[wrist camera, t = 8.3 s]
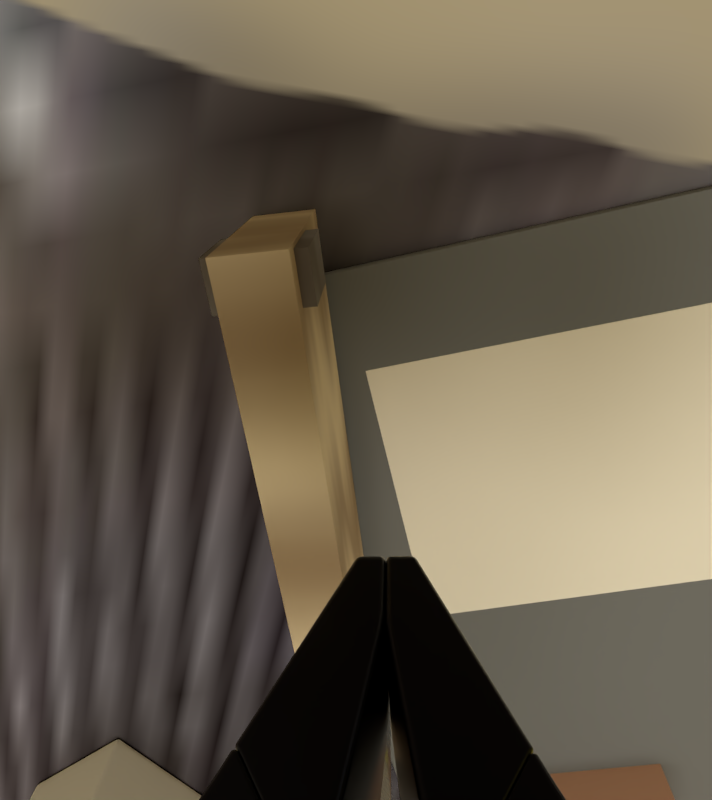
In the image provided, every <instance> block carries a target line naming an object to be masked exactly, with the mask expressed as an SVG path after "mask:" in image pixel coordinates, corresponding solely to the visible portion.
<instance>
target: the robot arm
mask: <svg viewBox="0 0 712 800" xmlns="http://www.w3.org/2000/svg"><path fill="white" fill-rule="evenodd" d="M389 704H390V721H391V731H392V740H393V747H394V755H395V763H396V771H397V778H398V786H399V794H400V800H566V799H565V797H564V796H563V794H562V793H561V791H560V790H559V788H558V787H557V785H556V784H555V782H554V780H553V779H552V777H551V775H550V774H549V772H548V771H547V769H546V767H545V766H544V764H543V762H542V761H541V759H540V758H539V756H538V755H537V754H536V753H533V747H532V745H531V744H530V742H529V740H528V739H527V737H526V736H525V734H524V732H523V731H522V729H521V727H520V726H519V724H518V723H517V721H516V719H515V718H514V716H513V714H512V713H511V711H510V710H509V708H508V706H507V705H506V703H505V701H504V700H503V698H502V697H501V695H500V693H499V692H498V690H497V689H496V687H495V685H494V684H493V682H492V680H491V679H490V677H489V676H488V674H487V672H486V671H485V669H484V667H483V666H482V664H481V663H480V661H479V659H478V658H477V656H476V654H475V653H474V651H473V650H472V648H471V646H470V645H469V643H468V642H467V640H466V638H465V637H464V635H463V633H462V632H461V630H460V629H459V627H458V625H457V624H456V622H455V620H454V619H453V617H452V616H451V614H450V612H449V611H448V609H447V608H446V606H445V604H444V603H443V601H442V599H441V598H440V596H439V595H438V593H437V591H436V590H435V588H434V586H433V585H432V583H431V582H430V580H429V578H428V577H427V575H426V573H425V572H424V570H423V569H422V567H421V565H420V564H419V562H418V561H417V559H416V558H415V557H413V556H390V557H388V558H387V560H385V558H384V557H382V556H362V557H358V558H357V559H356V560H355V561H354V562H353V564H352V566H351V567H350V569H349V570H348V572H347V573H346V575H345V576H344V578H343V579H342V581H341V583H340V584H339V586H338V587H337V589H336V590H335V592H334V593H333V595H332V596H331V598H330V600H329V601H328V603H327V604H326V606H325V607H324V609H323V610H322V612H321V614H320V615H319V617H318V618H317V620H316V621H315V623H314V624H313V626H312V627H311V629H310V631H309V632H308V634H307V635H306V637H305V638H304V640H303V641H302V643H301V644H300V646H299V648H298V649H297V651H296V652H295V654H294V655H293V657H292V658H291V660H290V661H289V663H288V665H287V666H286V668H285V669H284V671H283V672H282V674H281V675H280V677H279V678H278V680H277V682H276V683H275V685H274V686H273V688H272V689H271V691H270V692H269V694H268V695H267V697H266V699H265V700H264V702H263V703H262V705H261V706H260V708H259V709H258V711H257V712H256V714H255V716H254V717H253V719H252V720H251V722H250V723H249V725H248V726H247V728H246V729H245V731H244V733H243V734H242V736H241V737H240V739H239V740H238V742H237V743H236V750H232V751H231V752H230V754H229V755H228V757H227V758H226V760H225V761H224V763H223V765H222V766H221V768H220V769H219V771H218V772H217V774H216V775H215V777H214V779H213V780H212V781H211V783H210V784H209V786H208V787H207V789H206V790H205V792H204V793H203V795H202V796H201V797H200V799H199V800H381V790H382V781H383V772H384V762H385V753H386V744H387V734H388V721H389Z"/></svg>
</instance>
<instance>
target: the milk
mask: <svg viewBox="0 0 712 800" xmlns="http://www.w3.org/2000/svg"><path fill="white" fill-rule="evenodd" d="M200 797H201V795H200V794H198V793H197V792H195V791H194V790H193V789H191V788H190V787H188V786H187V785H185V784H184V783H182V782H181V781H179V780H178V779H176V778H175V777H174V776H172V775H171V774H169V773H168V772H166V771H165V770H163V769H162V768H160V767H159V766H157V765H156V764H155V763H153V762H152V761H150V760H149V759H147V758H146V757H144V756H143V755H141V754H140V753H138V752H137V751H136V750H134V749H133V748H131V747H130V746H128V745H127V744H125V743H124V742H122V741H121V740H119V739H117V740H115V741H113V742H112V743H110V744H108V745H106V746H105V747H103V748H101V749H99V750H98V751H96V752H94V753H92V754H91V755H89V756H87V757H85V758H84V759H82V760H80V761H78V762H77V763H75V764H73V765H71V766H70V767H68V768H66V769H64V770H63V771H61V772H59V773H57V774H56V775H54V776H52V777H50V778H49V779H47V780H45V781H43V782H42V783H40V784H39V785H38V786H37V787H36V789H35V791H34V792H33V794H32V796H31V798H30V800H199V799H200Z"/></svg>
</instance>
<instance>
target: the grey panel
mask: <svg viewBox="0 0 712 800" xmlns="http://www.w3.org/2000/svg"><path fill="white" fill-rule="evenodd" d="M325 279H326V290H327V297H328V304H329V311H330V318H331V326H332V333H333V340H334V347H335V354H336V361H337V369H338V376H339V383H340V390H341V397H342V404H343V412H344V419H345V426H346V433H347V440H348V447H349V455H350V462H351V469H352V476H353V483H354V490H355V498H356V505H357V512H358V519H359V526H360V533H361V541H362V548H363V555H364V556H382V557H384V558H385V560H387V558H388V557H390V556H413V557H415V558H416V559H417V561H418V562H419V564H420V565H421V567H422V569H423V570H424V572H425V573H426V575H427V577H428V578H429V580H430V582H431V583H432V585H433V586H434V588H435V590H436V591H437V593H438V595H439V596H440V598H441V599H442V601H443V603H444V604H445V606H446V608H447V609H448V611H449V612H450V614H451V616H452V617H453V619H454V620H455V622H456V624H457V625H458V627H459V629H460V630H461V632H462V633H463V635H464V637H465V638H466V640H467V642H468V643H469V645H470V646H471V648H472V650H473V651H474V653H475V654H476V656H477V658H478V659H479V661H480V663H481V664H482V666H483V667H484V669H485V671H486V672H487V674H488V676H489V677H490V679H491V680H492V682H493V684H494V685H495V687H496V689H497V690H498V692H499V693H500V695H501V697H502V698H503V700H504V701H505V703H506V705H507V706H508V708H509V710H510V711H511V713H512V714H513V716H514V718H515V719H516V721H517V723H518V724H519V726H520V727H521V729H522V731H523V732H524V734H525V736H526V737H527V739H528V740H529V742H530V744H531V745H532V747H533V753H536V754H537V755H538V756H539V758H540V759H541V761H542V762H543V764H544V766H545V767H546V769H547V771H548V772H549V774H554V773H565V772H576V771H587V770H598V769H609V768H619V767H630V766H641V765H652V764H661V767H662V769H663V772H664V774H665V777H666V779H667V782H668V784H669V786H670V789H671V791H672V794H673V796H674V799H675V800H712V186H709V187H705V188H700V189H696V190H691V191H687V192H682V193H678V194H674V195H669V196H665V197H660V198H656V199H651V200H647V201H642V202H638V203H633V204H629V205H624V206H620V207H616V208H611V209H607V210H602V211H598V212H593V213H589V214H584V215H580V216H575V217H571V218H566V219H562V220H557V221H553V222H549V223H544V224H540V225H535V226H531V227H526V228H522V229H517V230H513V231H508V232H504V233H499V234H495V235H491V236H486V237H482V238H477V239H473V240H468V241H464V242H459V243H455V244H450V245H446V246H441V247H437V248H433V249H428V250H424V251H419V252H415V253H410V254H406V255H401V256H397V257H392V258H388V259H383V260H379V261H374V262H370V263H366V264H361V265H357V266H352V267H348V268H343V269H339V270H334V271H330V272H325ZM391 761H392V764H393V767H394V770H395V773H396V776H397V771H396V763H395V755H394V747H393V740H392V731H391ZM397 779H398V778H397Z"/></svg>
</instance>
